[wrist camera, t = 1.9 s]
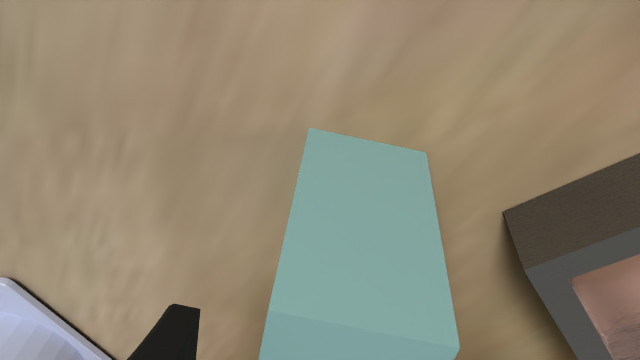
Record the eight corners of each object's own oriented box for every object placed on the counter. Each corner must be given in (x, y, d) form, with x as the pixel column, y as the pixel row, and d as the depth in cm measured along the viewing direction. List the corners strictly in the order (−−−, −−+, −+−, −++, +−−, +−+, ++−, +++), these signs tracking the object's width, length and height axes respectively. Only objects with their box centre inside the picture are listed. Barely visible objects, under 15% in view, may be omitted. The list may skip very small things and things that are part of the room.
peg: (394, 241, 19) (405, 450, 13) (290, 219, 19) (246, 419, 13) (426, 152, 17) (460, 348, 10) (309, 127, 17) (268, 310, 10)
